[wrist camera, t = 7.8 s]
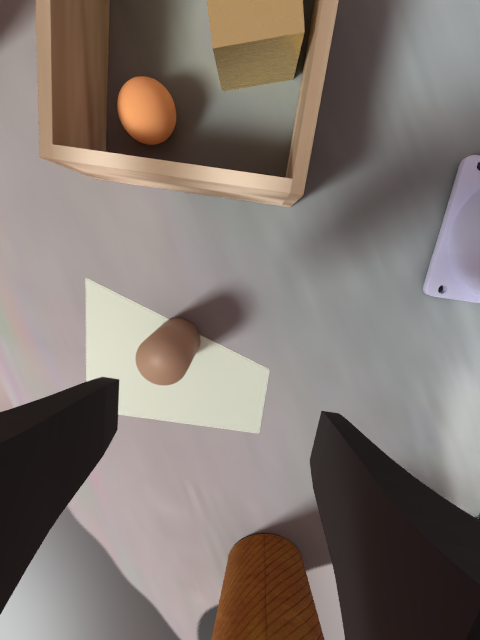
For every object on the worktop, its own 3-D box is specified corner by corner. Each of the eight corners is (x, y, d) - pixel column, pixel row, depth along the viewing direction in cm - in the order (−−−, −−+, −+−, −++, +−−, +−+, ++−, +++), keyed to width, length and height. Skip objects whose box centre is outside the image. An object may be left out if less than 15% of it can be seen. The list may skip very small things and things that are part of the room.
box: (333, -42, 15) (370, -173, 11) (290, 207, 18) (303, 195, 14) (100, -74, 15) (29, -218, 11) (95, 179, 19) (39, 156, 14)
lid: (286, 255, 20) (296, 258, 15) (259, 428, 23) (260, 473, 19) (90, 229, 20) (43, 226, 16) (90, 405, 23) (51, 444, 19)
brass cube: (286, -9, 16) (297, -89, 12) (293, 79, 17) (304, 31, 13) (211, 6, 16) (198, -68, 12) (222, 91, 17) (212, 48, 13)
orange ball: (184, 96, 17) (169, 67, 14) (179, 154, 18) (165, 138, 15) (132, 89, 17) (107, 58, 14) (129, 147, 18) (105, 129, 15)
